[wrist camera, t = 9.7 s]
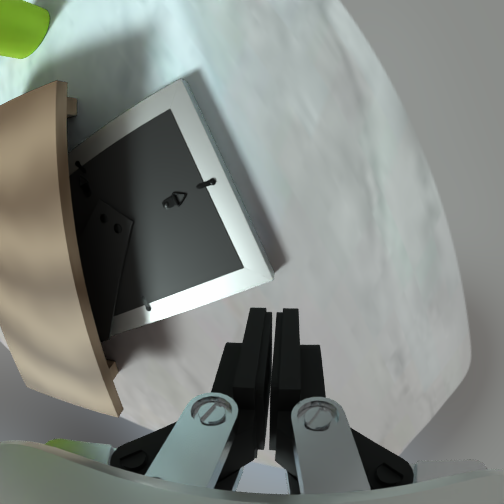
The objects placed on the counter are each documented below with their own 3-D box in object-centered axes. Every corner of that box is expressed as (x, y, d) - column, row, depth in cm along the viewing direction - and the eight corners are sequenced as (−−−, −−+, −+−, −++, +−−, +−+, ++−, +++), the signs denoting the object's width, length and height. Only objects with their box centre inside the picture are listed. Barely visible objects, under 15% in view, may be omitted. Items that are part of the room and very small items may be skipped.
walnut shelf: (11, 122, 22) (-34, 124, 16) (105, 90, 20) (56, 80, 15) (55, 357, 30) (26, 386, 24) (143, 376, 29) (118, 417, 23)
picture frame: (90, 335, 29) (275, 269, 24) (76, 349, 26) (273, 284, 22) (23, 201, 25) (190, 83, 21) (4, 207, 23) (177, 75, 18)
